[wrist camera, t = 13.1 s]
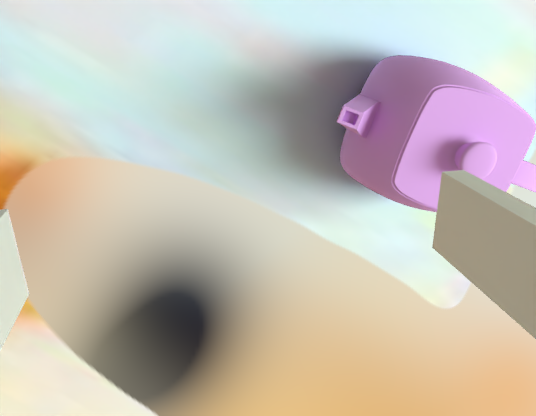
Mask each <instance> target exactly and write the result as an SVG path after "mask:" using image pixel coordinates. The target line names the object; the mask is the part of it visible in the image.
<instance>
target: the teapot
mask: <svg viewBox="0 0 536 416" xmlns="http://www.w3.org/2000/svg"><path fill="white" fill-rule="evenodd" d="M336 122H338V123H339V124H341V125H342V126H344V127H345V128H347V129H346V132H345V135H344V138H343V142H342V146H341V150H340V161H341V165H342V167H343V169H344V170H345V171H346V172H347V173H348V174H349V175H350V176H351V177H352V178H353V179H355V180H356V181H358V182H359V183H361V184H362V185H364V186H365V187H367V188H369V189H371V190H373V191H374V192H376V193H378V194H380V195H382V196H384V197H386V198H388V199H391V200H393V201H395V202H398V203H401V204H404V205H407V206H410V207H414V208H418V209H422V210H427V211H433V212H437V207H438V199H439V191H440V183H441V175H442V172H445V171H457V170H465V171H466V172H468V173H470V174H472V175H474V176H476V177H478V178H480V179H482V180H484V181H485V182H487V183H489V184H491V185H493V186H495V187H497V188H499V189H501V190H502V191H504V192H506V191H507V189H508V188H509V186H510V184H511V183H512V184H515V185H518V186H520V187H523V188H525V189H528V190H531V191H533V192H536V165H534V164H531V163H529V162H527V161H524V160H523V159H524V157H525V155H526V153H527V151H528V149H529V146H530V144H531V142H532V140H533V137H534V134H535V130H536V124H535V122H534V120H533V119H532V118H531V116H530V115H529V114H528V113H527V112H526V111H525V110H524V109H523V108H521V107H520V106H519V105H518V104H517V103H516V102H514V101H513V100H512V99H511V98H510V97H509V96H507V95H506V94H505V93H503V92H502V91H500V90H499V89H498V88H496V87H495V86H493V85H492V84H490V83H489V82H487V81H486V80H484V79H482V78H480V77H479V76H477V75H475V74H473V73H471V72H469V71H466V70H464V69H462V68H460V67H457V66H454V65H451V64H448V63H446V62H442V61H438V60H434V59H429V58H423V57H416V56H401V55H399V56H391V57H387V58H385V59H383V60H381V61H380V62H379V63H378V64H377V65H376V66H375V67H374V68H373V70H372V71H371V73H370V75H369V76H368V78H367V80H366V82H365V84H364V86H363V88H362V91H361V93H360V94H359V95H357V96H356V97H354V98H353V99H351V100H350V101H349V102H347V103H346V104H344V105H343V107H342V109H341V111H340V114H339V116H338V119H337V121H336Z"/></svg>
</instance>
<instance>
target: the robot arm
mask: <svg viewBox="0 0 536 416" xmlns="http://www.w3.org/2000/svg"><path fill="white" fill-rule="evenodd" d="M432 248H434V249H435V250H436V251H437V252H438V253H439V254H440V255H441V256H443V257H444V258H445V259H446V260H447V261H448V262H449V263H450V264H452V265H453V266H454V267H455V268H456V269H457V270H458V271H460V272H461V273H462V274H463V275H464V276H465V277H466V278H467V279H469V280H470V281H471V282H472V283H473V284H474V285H475V286H476V287H478V288H479V289H480V290H481V291H482V292H483V293H484V294H486V295H487V296H488V297H489V298H490V299H491V300H492V301H493V302H495V303H496V304H497V305H498V306H499V307H500V308H501V309H502V310H504V311H505V312H506V313H507V314H508V315H509V316H510V317H511V318H513V319H514V320H515V321H516V322H517V323H518V324H520V325H521V326H522V327H523V328H524V329H525V330H526V331H527V332H529V333H530V334H531V335H532V336H533V337H534V338H535V339H536V208H535V207H533V206H531V205H529V204H527V203H525V202H523V201H521V200H520V199H518V198H515V197H514V196H512V195H510V194H508V193H506V192H504V191H502V190H501V189H499V188H497V187H495V186H493V185H491V184H489V183H487V182H485V181H484V180H482V179H480V178H478V177H476V176H474V175H472V174H470V173H468V172H466V171H465V170H457V171H445V172H442V175H441V183H440V191H439V199H438V207H437V215H436V223H435V231H434V239H433V247H432ZM28 295H29V291H28V287H27V283H26V279H25V275H24V271H23V267H22V263H21V259H20V255H19V251H18V247H17V243H16V239H15V235H14V231H13V227H12V224H11V220H10V216H9V212H8V209H4V210H0V350H1V348H2V347H3V345H4V343H5V341H6V339H7V337H8V335H9V333H10V331H11V329H12V327H13V325H14V323H15V321H16V319H17V317H18V315H19V313H20V311H21V309H22V307H23V305H24V303H25V301H26V299H27V297H28Z"/></svg>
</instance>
